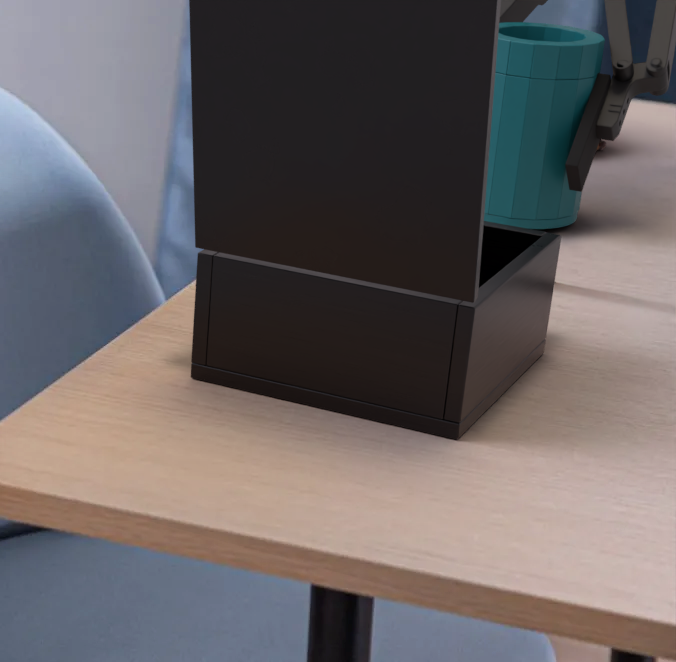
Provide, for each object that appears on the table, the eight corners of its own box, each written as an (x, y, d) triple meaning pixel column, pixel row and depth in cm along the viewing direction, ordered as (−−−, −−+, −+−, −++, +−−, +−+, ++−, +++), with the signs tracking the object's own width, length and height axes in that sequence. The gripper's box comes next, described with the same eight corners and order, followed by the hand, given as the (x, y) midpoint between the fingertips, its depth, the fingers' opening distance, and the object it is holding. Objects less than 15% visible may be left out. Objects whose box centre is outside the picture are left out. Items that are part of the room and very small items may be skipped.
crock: (590, 209, 112) (618, 32, 107) (557, 236, 106) (585, 50, 101) (478, 190, 115) (500, 17, 110) (440, 216, 109) (462, 34, 104)
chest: (301, 303, 96) (311, 189, 94) (544, 353, 91) (562, 234, 88) (189, 378, 85) (197, 252, 83) (457, 440, 80) (474, 308, 77)
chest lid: (193, -62, 75) (187, -57, 74) (503, -25, 69) (498, -20, 69) (200, 242, 83) (194, 247, 82) (478, 297, 77) (473, 303, 77)
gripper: (781, -80, 111) (679, 229, 105) (473, -109, 120) (362, 175, 114) (783, -165, 105) (674, 158, 99) (457, -190, 113) (338, 107, 107)
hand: (507, 167), depth 106 cm, fingers closed on crock, 7 cm apart
